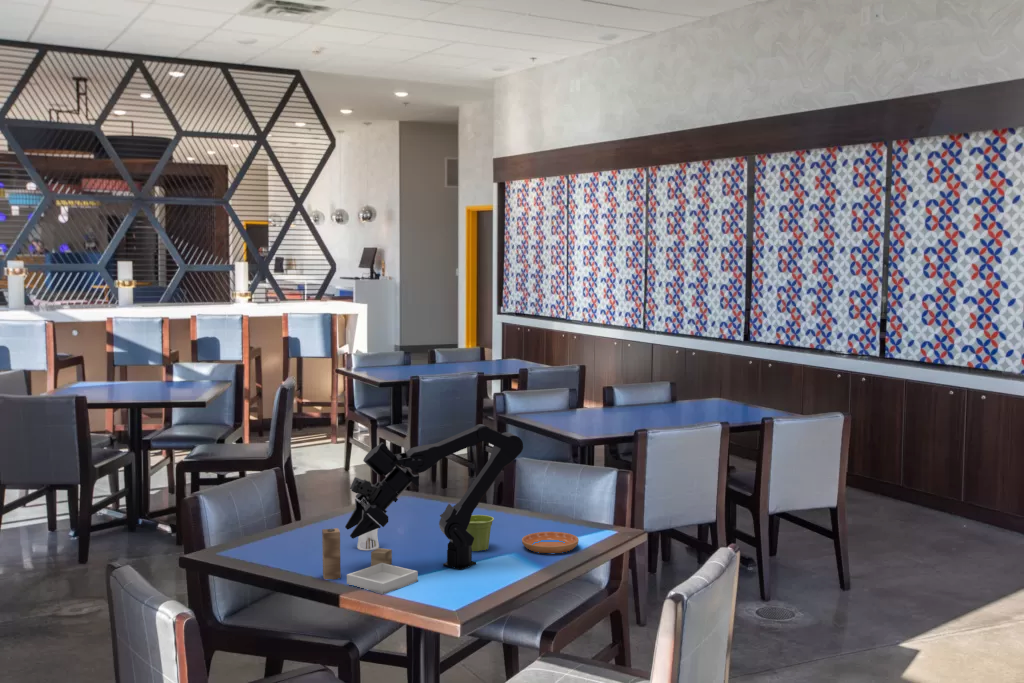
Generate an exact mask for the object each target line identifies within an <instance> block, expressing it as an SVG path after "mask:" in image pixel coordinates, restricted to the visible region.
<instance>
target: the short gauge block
mask: <svg viewBox="0 0 1024 683" xmlns="http://www.w3.org/2000/svg"><path fill="white" fill-rule="evenodd" d="M392 552H393V550H392V549H391V548H383V547H379V548H378V549H375V550H371V551H370V563H371V564H370V567H371V566H374V565H377V564H380V563H385V564H389V565H392V564H393V553H392Z"/></svg>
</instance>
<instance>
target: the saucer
mask: <svg viewBox="0 0 1024 683" xmlns="http://www.w3.org/2000/svg"><path fill="white" fill-rule="evenodd" d="M579 539H580V538H579V537H578V536H576V535H574V534H572V533H569V532H568V533H567V532H562V531H561V532H560V531H540V532H534V533H533V532H532V533H529V534H527V535H524V536H523V537H522V538H521V541H522V545H523V546H524V547H525V548H526V549H527V550H528V549H529V550H531V551H534V552H533V553H535V552H539V553H538V554H540V553H562V552H566V553H568V552H567V551H569V552H571V551H572V550H573V549H574V548H576V547H577V546H578V544H579ZM541 540H559V541H563V542H565V543H563V542H539V543H535V544H533V543H534V542H538V541H541ZM532 544H533V545H532ZM570 550H571V551H570ZM531 551H530V552H531ZM562 554H563V553H562Z"/></svg>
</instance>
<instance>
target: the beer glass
mask: <svg viewBox="0 0 1024 683" xmlns="http://www.w3.org/2000/svg"><path fill="white" fill-rule="evenodd" d="M355 499H356V500H357V501H358V499H357V498H356V497H355ZM378 531H379V528H377V529H375V530H372V531H370V532H367V533H365V534H363V535H360V536H358V541H357V545H356V546H357V549H358V550H360V551H374V550H376V549H378V548H380V545H379V544H380V543H379V540H378V539H379V538H378Z"/></svg>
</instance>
